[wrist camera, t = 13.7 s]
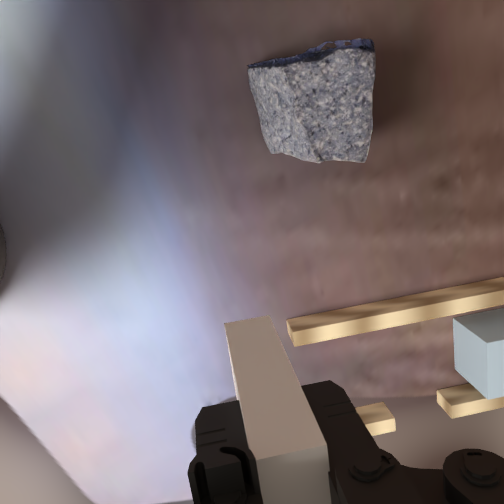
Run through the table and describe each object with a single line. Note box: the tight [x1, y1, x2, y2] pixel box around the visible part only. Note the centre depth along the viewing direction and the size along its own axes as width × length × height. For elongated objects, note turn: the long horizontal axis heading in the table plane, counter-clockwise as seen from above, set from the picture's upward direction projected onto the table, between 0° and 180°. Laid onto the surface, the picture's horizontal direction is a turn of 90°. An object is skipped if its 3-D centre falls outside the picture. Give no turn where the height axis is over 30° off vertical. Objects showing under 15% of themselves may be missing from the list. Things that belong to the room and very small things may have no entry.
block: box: [453, 308, 504, 400], centre depth 48 cm, size 6×6×6 cm
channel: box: [287, 277, 504, 436], centre depth 48 cm, size 28×13×4 cm, turn 99°
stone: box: [247, 38, 376, 163], centre depth 38 cm, size 12×10×10 cm
